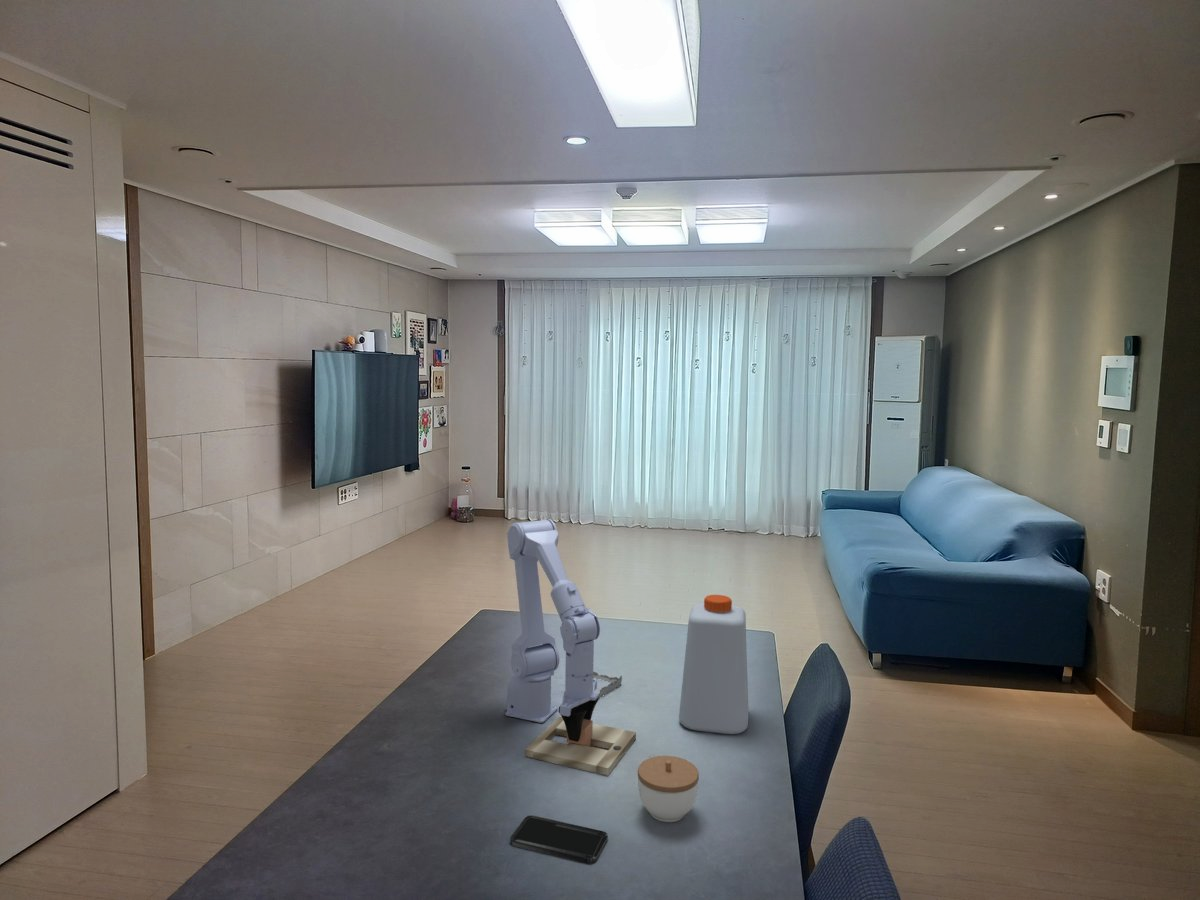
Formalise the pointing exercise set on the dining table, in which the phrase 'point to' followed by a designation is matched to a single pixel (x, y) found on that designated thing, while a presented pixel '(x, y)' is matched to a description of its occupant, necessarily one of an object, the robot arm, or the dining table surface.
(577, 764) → the keyhole board
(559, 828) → the phone
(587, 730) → the slider block
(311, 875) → the dining table surface
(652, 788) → the lidded jar
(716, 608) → the plastic bottle
